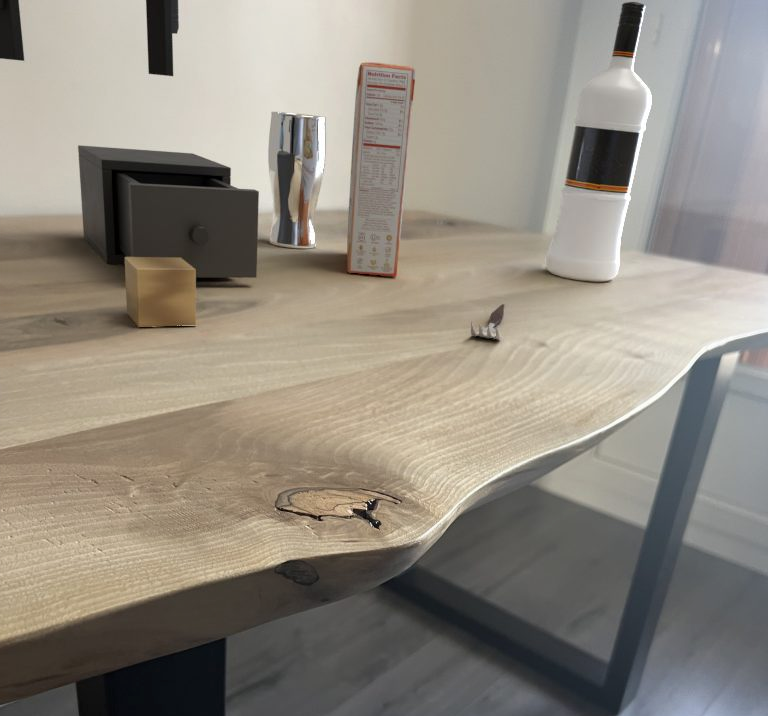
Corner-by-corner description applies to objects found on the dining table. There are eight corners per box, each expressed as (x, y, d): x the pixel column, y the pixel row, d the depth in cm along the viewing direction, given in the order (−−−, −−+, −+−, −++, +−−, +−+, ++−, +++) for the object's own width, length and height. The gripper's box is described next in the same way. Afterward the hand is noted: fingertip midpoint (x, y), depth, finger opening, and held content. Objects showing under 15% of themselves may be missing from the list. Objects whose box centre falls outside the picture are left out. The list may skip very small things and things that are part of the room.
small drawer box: (229, 265, 88) (230, 167, 84) (106, 263, 83) (101, 159, 78) (193, 240, 100) (193, 153, 95) (83, 237, 94) (77, 145, 90)
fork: (515, 312, 81) (519, 291, 81) (496, 350, 67) (500, 326, 67) (490, 308, 82) (493, 287, 81) (465, 345, 68) (468, 321, 67)
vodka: (534, 273, 103) (583, -7, 89) (554, 264, 110) (603, 6, 97) (606, 286, 99) (669, -2, 86) (622, 276, 107) (682, 10, 93)
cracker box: (343, 252, 103) (357, 63, 93) (391, 257, 103) (409, 69, 94) (343, 273, 90) (358, 58, 81) (397, 278, 91) (419, 65, 81)
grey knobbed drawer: (260, 280, 78) (263, 192, 75) (137, 280, 73) (133, 186, 70) (216, 250, 90) (217, 173, 86) (107, 248, 85) (103, 166, 81)
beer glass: (315, 241, 108) (323, 116, 101) (323, 250, 102) (332, 118, 95) (263, 237, 106) (266, 110, 100) (267, 247, 100) (272, 112, 94)
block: (138, 328, 63) (136, 268, 61) (126, 313, 66) (124, 256, 64) (196, 326, 65) (195, 268, 63) (181, 312, 68) (181, 257, 66)
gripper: (-95, -358, 48) (-43, 53, 57) (240, -216, 65) (237, 82, 75) (-143, -329, 52) (-86, 49, 62) (183, -203, 69) (188, 78, 79)
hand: (91, 68), depth 68 cm, fingers open, 13 cm apart
